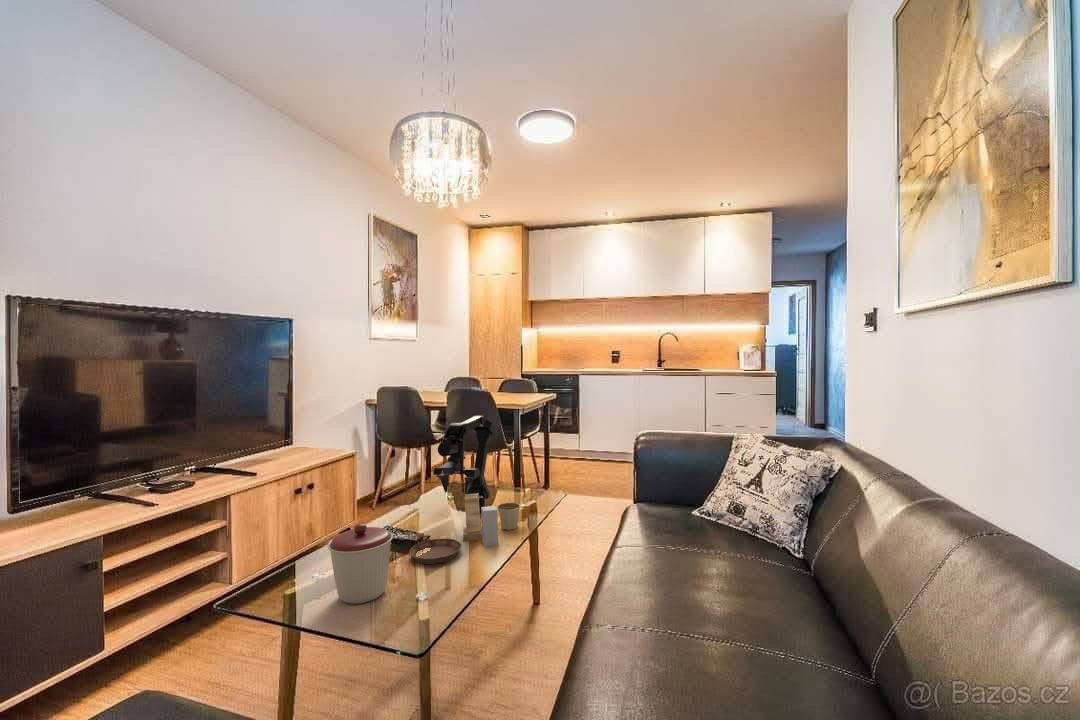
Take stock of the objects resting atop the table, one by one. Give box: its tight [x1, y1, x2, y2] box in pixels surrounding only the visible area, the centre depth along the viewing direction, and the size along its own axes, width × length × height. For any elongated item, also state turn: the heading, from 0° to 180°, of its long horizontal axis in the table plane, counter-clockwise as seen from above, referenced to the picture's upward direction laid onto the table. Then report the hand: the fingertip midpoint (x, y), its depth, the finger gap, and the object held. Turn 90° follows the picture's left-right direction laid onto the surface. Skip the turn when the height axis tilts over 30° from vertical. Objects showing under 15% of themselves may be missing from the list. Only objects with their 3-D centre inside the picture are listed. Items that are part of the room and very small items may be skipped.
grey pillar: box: [480, 505, 499, 548], centre depth 181 cm, size 5×5×13 cm
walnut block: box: [462, 525, 482, 542], centre depth 188 cm, size 8×8×3 cm
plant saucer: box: [409, 537, 462, 565], centre depth 172 cm, size 18×18×3 cm
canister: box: [327, 523, 394, 605], centre depth 144 cm, size 18×18×21 cm
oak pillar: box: [464, 493, 482, 532], centre depth 188 cm, size 5×5×13 cm
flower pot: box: [496, 502, 521, 531], centre depth 197 cm, size 9×9×9 cm
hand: (455, 493), depth 200 cm, fingers open, 9 cm apart
